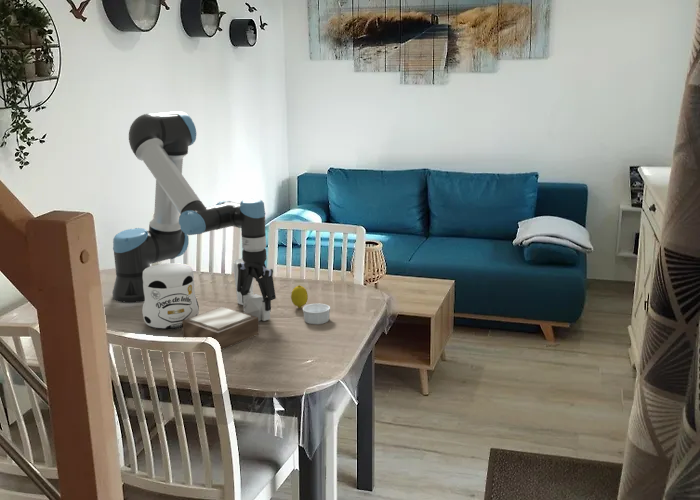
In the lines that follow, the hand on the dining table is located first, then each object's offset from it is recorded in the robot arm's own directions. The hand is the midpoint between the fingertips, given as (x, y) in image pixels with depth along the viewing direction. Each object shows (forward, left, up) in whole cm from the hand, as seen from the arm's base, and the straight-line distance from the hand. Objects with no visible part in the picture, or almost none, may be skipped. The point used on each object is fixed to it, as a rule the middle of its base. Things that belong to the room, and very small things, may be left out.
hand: (256, 316), depth 233 cm
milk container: (-18, -20, -1) cm, 27 cm away
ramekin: (+16, +11, -1) cm, 19 cm away
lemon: (+4, +16, -1) cm, 17 cm away
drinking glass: (-14, +8, -1) cm, 16 cm away
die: (0, 0, -1) cm, 1 cm away
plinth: (+2, -17, -1) cm, 17 cm away
